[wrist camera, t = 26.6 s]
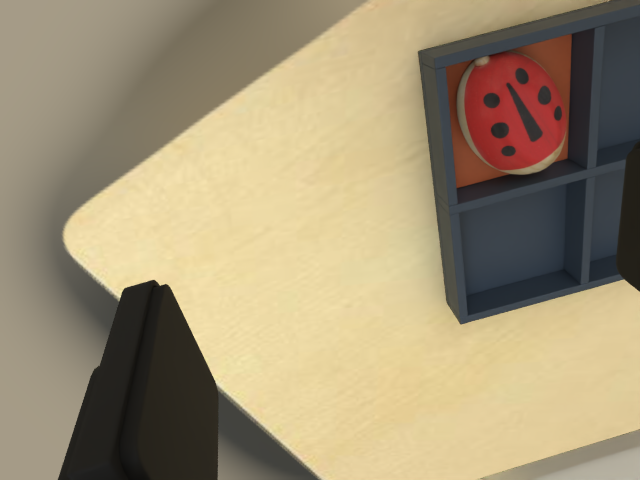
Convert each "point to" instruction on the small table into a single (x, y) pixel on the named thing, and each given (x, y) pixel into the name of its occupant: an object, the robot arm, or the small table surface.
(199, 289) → the small table surface
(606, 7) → the four-compartment sorting tray
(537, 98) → the ladybug figurine
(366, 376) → the small table surface
